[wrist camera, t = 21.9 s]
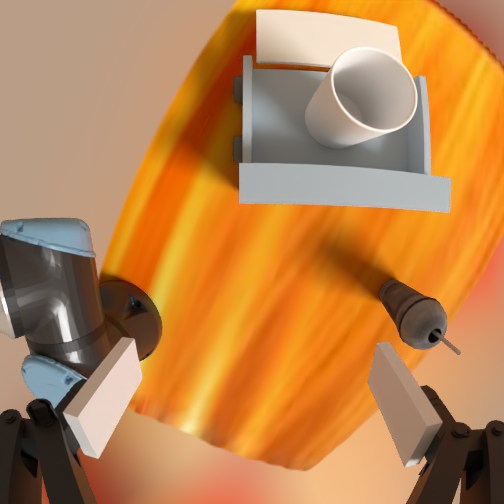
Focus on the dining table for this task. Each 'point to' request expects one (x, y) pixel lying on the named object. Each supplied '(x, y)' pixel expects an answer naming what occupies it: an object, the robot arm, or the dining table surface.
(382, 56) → the cup
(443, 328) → the beverage cup
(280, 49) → the tailgate
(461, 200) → the dining table surface
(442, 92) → the dining table surface
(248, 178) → the truck bed
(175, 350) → the dining table surface
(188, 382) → the dining table surface
